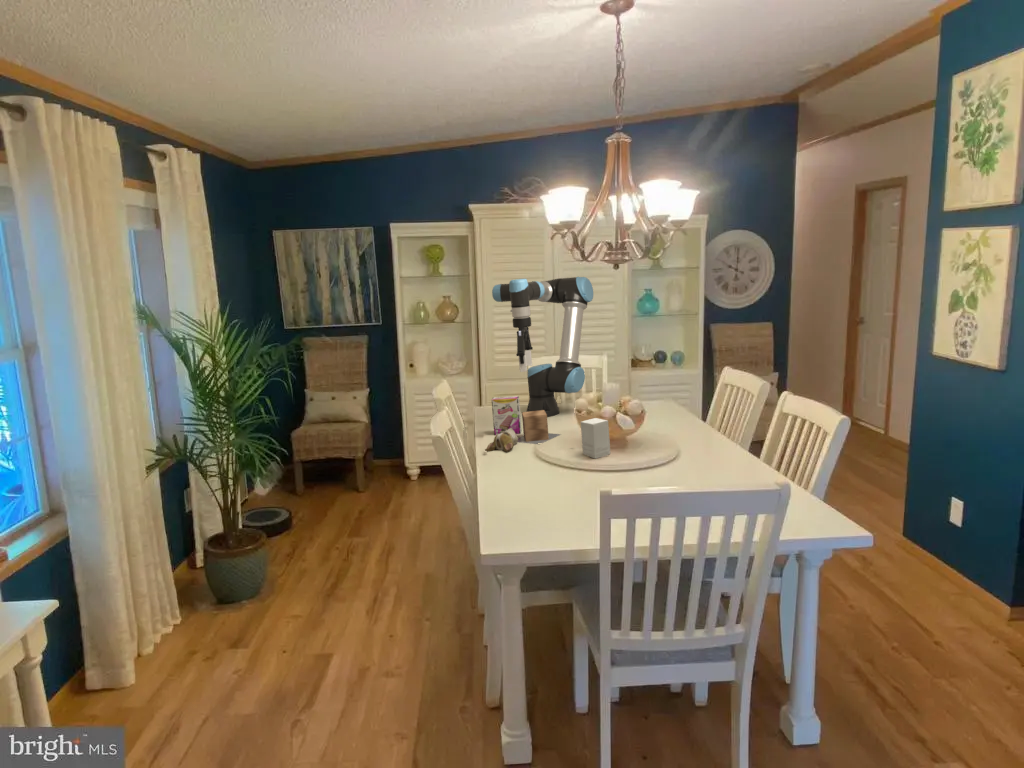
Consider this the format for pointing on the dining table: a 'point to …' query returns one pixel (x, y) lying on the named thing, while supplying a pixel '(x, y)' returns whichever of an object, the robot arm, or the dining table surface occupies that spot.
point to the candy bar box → (506, 414)
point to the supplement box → (595, 437)
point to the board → (551, 436)
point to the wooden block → (535, 425)
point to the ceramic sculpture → (503, 441)
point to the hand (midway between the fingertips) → (526, 368)
